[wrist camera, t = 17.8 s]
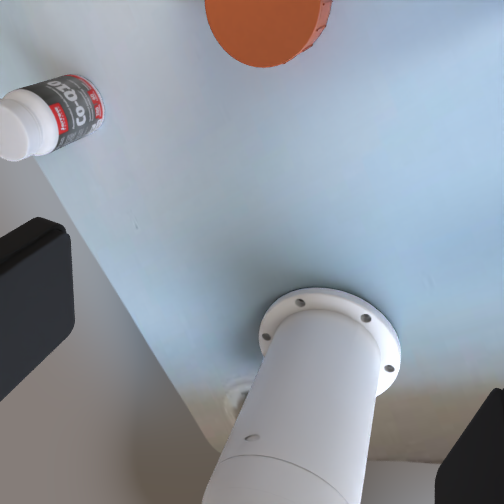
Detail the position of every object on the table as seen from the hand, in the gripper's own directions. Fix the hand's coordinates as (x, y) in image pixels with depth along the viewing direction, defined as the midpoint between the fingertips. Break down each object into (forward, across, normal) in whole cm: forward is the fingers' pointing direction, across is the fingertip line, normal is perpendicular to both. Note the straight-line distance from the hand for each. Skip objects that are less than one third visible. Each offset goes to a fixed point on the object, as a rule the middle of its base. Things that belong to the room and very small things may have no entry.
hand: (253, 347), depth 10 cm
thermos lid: (+25, +8, -4) cm, 26 cm away
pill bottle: (+25, +23, +6) cm, 34 cm away
